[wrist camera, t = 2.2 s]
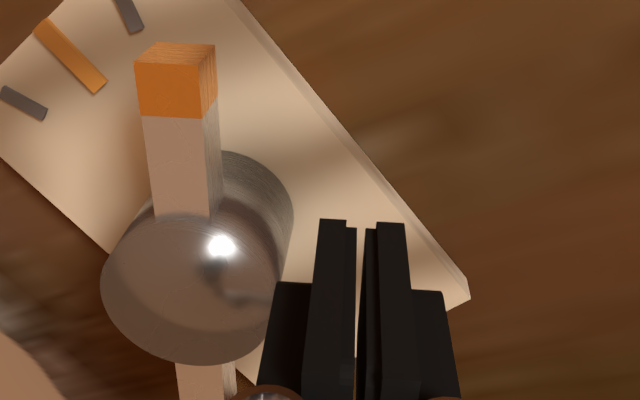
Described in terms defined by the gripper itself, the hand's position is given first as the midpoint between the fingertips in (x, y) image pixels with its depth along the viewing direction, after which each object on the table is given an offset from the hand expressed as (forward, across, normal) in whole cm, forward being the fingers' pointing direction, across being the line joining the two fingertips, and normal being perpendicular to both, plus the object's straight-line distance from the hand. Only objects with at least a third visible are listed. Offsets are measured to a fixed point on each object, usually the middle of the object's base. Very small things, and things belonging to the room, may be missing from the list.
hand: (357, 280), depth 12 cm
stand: (+13, +5, +6) cm, 16 cm away
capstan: (+11, +5, +6) cm, 14 cm away
